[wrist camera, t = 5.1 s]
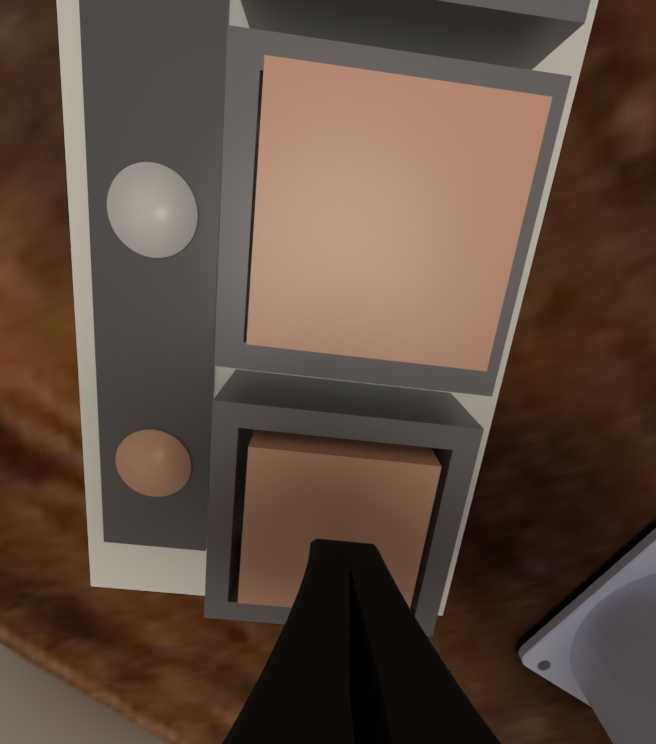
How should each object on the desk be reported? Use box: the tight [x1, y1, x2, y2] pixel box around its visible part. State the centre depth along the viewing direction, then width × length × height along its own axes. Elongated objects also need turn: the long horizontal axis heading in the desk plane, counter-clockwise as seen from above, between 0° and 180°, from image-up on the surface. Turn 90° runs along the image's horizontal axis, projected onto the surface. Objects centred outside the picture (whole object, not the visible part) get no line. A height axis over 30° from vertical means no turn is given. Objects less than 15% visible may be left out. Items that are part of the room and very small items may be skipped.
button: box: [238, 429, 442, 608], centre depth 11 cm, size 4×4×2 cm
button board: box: [57, 0, 598, 636], centre depth 10 cm, size 24×12×4 cm, turn 173°
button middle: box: [246, 55, 552, 371], centre depth 8 cm, size 4×4×2 cm
